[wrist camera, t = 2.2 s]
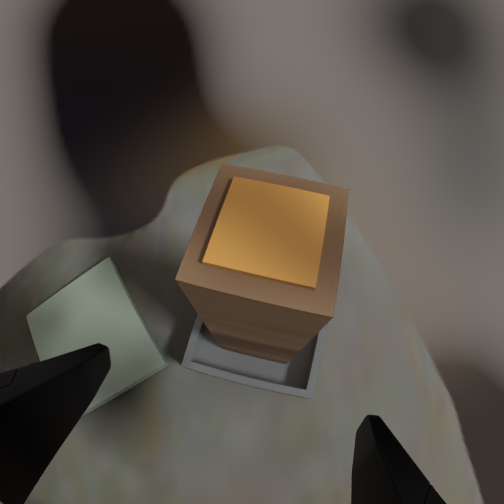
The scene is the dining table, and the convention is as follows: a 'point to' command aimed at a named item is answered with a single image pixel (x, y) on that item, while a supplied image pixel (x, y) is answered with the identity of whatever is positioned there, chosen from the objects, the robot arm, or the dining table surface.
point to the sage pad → (98, 329)
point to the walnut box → (265, 261)
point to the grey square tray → (255, 364)
